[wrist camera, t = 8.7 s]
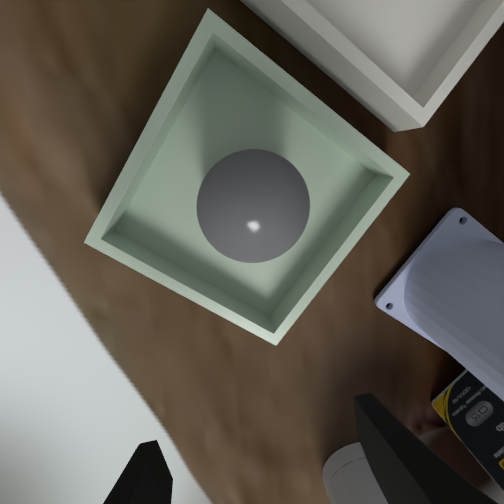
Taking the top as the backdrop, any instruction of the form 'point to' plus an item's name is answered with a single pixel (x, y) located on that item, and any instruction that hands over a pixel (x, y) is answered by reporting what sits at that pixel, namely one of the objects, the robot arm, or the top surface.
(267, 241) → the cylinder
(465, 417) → the medicine bottle
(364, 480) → the cup
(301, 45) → the bin
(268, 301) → the bin
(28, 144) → the top surface
